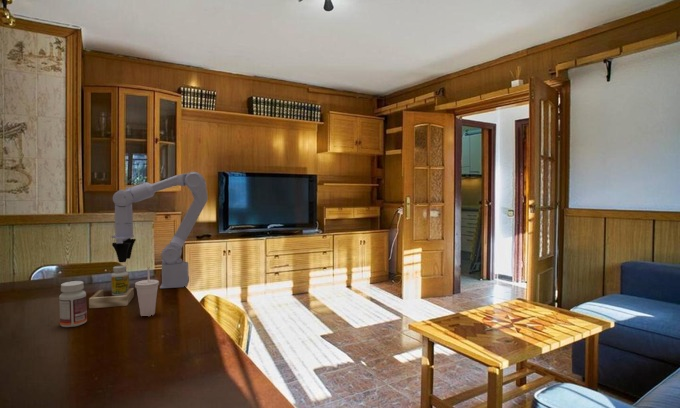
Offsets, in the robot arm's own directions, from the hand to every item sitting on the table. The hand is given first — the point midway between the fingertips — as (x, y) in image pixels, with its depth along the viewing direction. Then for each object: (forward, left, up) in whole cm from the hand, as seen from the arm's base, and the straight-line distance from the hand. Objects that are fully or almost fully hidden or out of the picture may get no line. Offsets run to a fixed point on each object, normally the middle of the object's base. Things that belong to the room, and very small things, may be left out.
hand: (124, 260), depth 143 cm
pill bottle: (+5, +36, -11) cm, 38 cm away
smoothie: (-13, +33, -11) cm, 37 cm away
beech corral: (0, +17, -10) cm, 20 cm away
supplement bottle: (0, +7, -11) cm, 13 cm away
